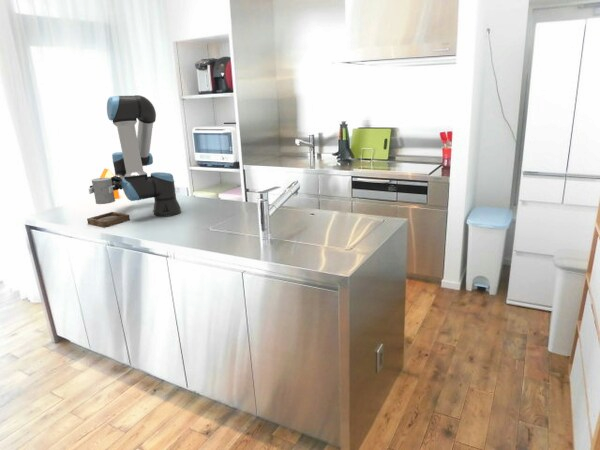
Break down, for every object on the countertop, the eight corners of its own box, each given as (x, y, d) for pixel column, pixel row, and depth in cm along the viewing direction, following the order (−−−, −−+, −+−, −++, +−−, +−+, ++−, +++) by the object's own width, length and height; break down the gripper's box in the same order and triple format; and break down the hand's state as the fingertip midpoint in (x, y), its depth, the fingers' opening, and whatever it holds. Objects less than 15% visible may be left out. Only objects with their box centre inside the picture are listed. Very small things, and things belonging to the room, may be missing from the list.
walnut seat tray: (130, 220, 226) (129, 214, 225) (104, 227, 214) (103, 222, 213) (113, 216, 234) (112, 211, 233) (88, 224, 222) (86, 218, 221)
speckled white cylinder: (118, 199, 226) (114, 177, 222) (109, 204, 217) (104, 180, 213) (102, 199, 227) (98, 177, 223) (92, 204, 218) (87, 181, 214)
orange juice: (115, 196, 285) (110, 167, 279) (119, 198, 279) (114, 168, 273) (103, 198, 280) (98, 168, 274) (107, 200, 274) (102, 170, 268)
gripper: (137, 187, 238) (122, 196, 217) (98, 189, 238) (79, 198, 217) (135, 174, 236) (119, 182, 215) (95, 176, 236) (76, 184, 214)
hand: (99, 190), depth 216 cm, fingers closed on speckled white cylinder, 9 cm apart
